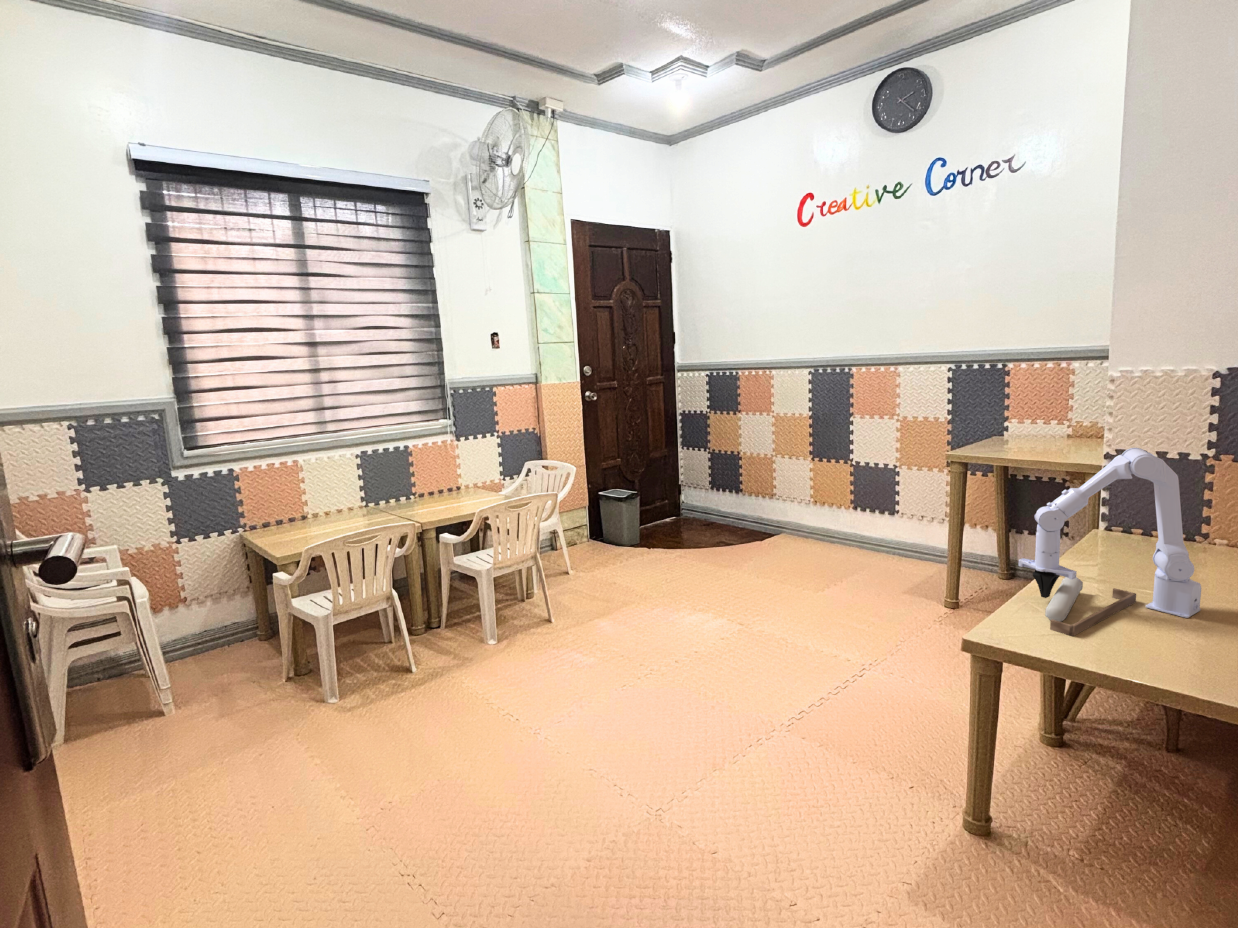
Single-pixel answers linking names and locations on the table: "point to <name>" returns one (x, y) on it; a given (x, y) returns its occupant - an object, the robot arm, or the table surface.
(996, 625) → the table surface
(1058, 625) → the bay
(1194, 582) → the robot arm
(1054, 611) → the tube
